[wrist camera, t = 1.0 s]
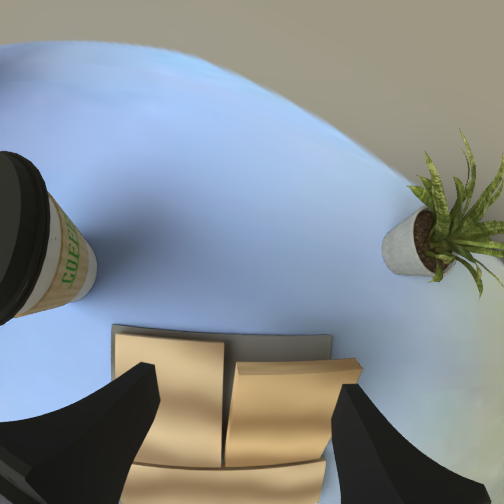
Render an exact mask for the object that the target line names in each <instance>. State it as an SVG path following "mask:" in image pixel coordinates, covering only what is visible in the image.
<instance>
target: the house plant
mask: <svg viewBox="0 0 504 504" xmlns="http://www.w3.org/2000/svg"><path fill="white" fill-rule="evenodd" d="M460 132H461V131H460ZM461 134H462V132H461ZM462 137H463V140H464V142H465V145H466V148H467V150H468V154H469V158H470V163H471V172H472V179H471V181H470V182H469V184H468V185H467V184H466V185H467V187H465V189H464V186H463V184H462V182H461V181H460V180H459V179H458V178H456V177H455V176H454V181H455V184H456V189H457V200H456V202H455V205H454V206H453V208H452V210H451V212H450V213H449V210H448V205H447V201H446V197H445V194H444V190H443V186H442V183H441V180H440V177H439V175H438V172H437V170H436V168H435V166H434V164H433V163H432V161H431V159H430V158H429V156H428V155H427V153H426V152H425V154H426V162H427V165H428V167H429V171H430V174H431V181H430V180H429V179H427V178H424V177H421V176H419V177H420V178H421V180H422V182H423V184H424V186H425V187H426V189H427V190H426V189H424V188H422V187H419V186H407V187H409V188H410V189H411V190H412V192H413V193H414V194H415V195H416V196H417V197H418V199H420V200H421V201H422V202H423V203H424V204H425V205H426V206H423V207H421V208H420V209H418V210H417V211H416V212H414V213H413V214H412V215H411V216H409V217H408V218H407V219H405V220H404V221H403V222H402V223H400V224H399V225H398V226H396V227H395V228H394V229H392V230H391V231H390V232H388V233H387V235H386V236H385V237H384V240H383V243H382V255H383V259H384V261H385V263H386V265H387V267H388V268H389V269H390V270H391V271H392V272H393V273H395V274H398V275H411V276H429V277H433V279H432V280H431V281H430V282H432V281H434V282H440V281H441V280H442V279H443V276H445V275H447V274H448V273H449V272H450V271H451V270H452V269H453V267H454V265H455V263H456V260H458V261H459V262H461V263H462V264H463V265H465V266H466V267H467V268H468V270H469V271H470V273H471V274H472V276H473V278H474V280H475V282H476V284H477V286H478V289H479V292H480V297H481V294H482V291H483V285H482V280H481V276H482V273H481V270H480V268H479V267H478V265H477V264H476V262H477V263H479V264H480V265H482V266H483V267H484V268H485V269H486V270H487V271H488V272H489V273H490V274H492V275H493V276H494V277H495V278H496V279H497V280H498V281H499V282H500V280H499V279H498V278H497V277H496V276H495V275H494V274H493V273H492V272H490V271H489V270H488V269H487V268H486V267H485V266H484V265H483V264H481V263H480V262H479V261H478V260H476V259H474V258H473V257H472V255H471V254H470V252H473V253H480V254H486V255H491V256H495V257H499V258H504V251H501V250H495V249H490V248H500V249H504V243H501V242H493V241H491V239H490V236H492V235H496V234H504V222H502V221H496V220H493V221H486V222H482V223H478V222H479V221H480V220H481V219H482V217H483V216H484V215H485V213H486V211H487V209H488V207H489V206H490V205H491V204H492V203H493V202H494V201H495V200H496V199H497V198H498V197H499V196H500V194H501V191H502V188H503V181H502V184H501V186H500V188H499V190H498V191H497V192H496V194H495V195H494V196H493V197H492V198H491V195H492V193H493V192H494V191H495V189H496V188H497V187H498V185H499V183H500V182H501V180H502V176H503V171H504V156H502V163H501V166H500V169H499V171H498V173H497V175H496V177H495V178H494V180H493V181H492V182H491V184H490V185H489V186H488V187H487V188H486V190H485V191H484V192H483V193H482V195H481V196H480V198H479V199H478V201H477V202H476V203H475V204H474V206H473V207H472V208H471V209H470V210H469V211H468V213H467V214H466V215H465V216H464V217H463V215H464V213H465V212H466V210H467V208H468V205H469V202H470V199H471V197H472V193H473V189H474V186H475V178H476V166H475V162H474V159H473V155H472V153H471V150H470V148H469V146H468V143H467V141H466V139H465V137H464V135H463V134H462ZM462 150H463V149H462ZM463 152H464V151H463ZM464 155H465V153H464ZM465 157H466V155H465ZM466 160H467V157H466ZM467 164H468V170H469V163H468V160H467ZM469 171H470V170H469ZM469 171H468V179H469ZM467 181H468V180H467ZM467 197H468V198H467ZM466 198H467V202H466V206H465V208H464V211H463V213H462V204H463V201H464V200H465V199H466ZM461 214H462V215H461ZM462 217H463V218H462ZM461 218H462V219H461ZM485 247H489V248H485ZM457 254H459V255H461V256H463V257H465V258H466V259H468V260H469V261H471V262H473V263H475V264H476V266H477V272H476V271H475V269H474V268H473V267H472V266H471V265H470V264H469V263H468V262H466V261H465V260H463V259H461V258H459V257H457ZM475 261H476V262H475ZM428 283H429V282H428ZM500 283H501V282H500ZM501 285H502V283H501ZM502 286H503V285H502ZM503 287H504V286H503ZM480 297H479V299H480Z"/></svg>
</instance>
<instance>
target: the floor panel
mask: <svg viewBox="0 0 504 504" xmlns="http://www.w3.org/2000/svg"><path fill="white" fill-rule="evenodd" d="M331 340H332V335H239V334H216V333H198V332H184V331H171V330H160V329H149V328H140V327H131V326H122V325H114V324H112V330H111V382H112V381H113V380H115V379H116V378H118V377H119V376H121V375H122V374H123V373H125V372H126V371H128V370H129V369H131V368H132V367H134V366H135V365H136V364H138V363H140V362H145V363H150V364H155V369H156V375H157V382H158V387H159V393H160V399H161V402H160V405H159V408H158V411H157V414H156V416H155V419H154V422H153V424H152V426H151V428H150V430H149V432H148V434H147V436H146V438H145V440H144V441H143V443H142V445H141V447H140V449H139V451H138V453H137V455H136V457H135V459H134V461H133V463H132V465H131V468H130V470H129V473H128V476H127V479H126V482H125V485H124V488H123V491H122V494H121V498H120V499H121V503H122V504H315V503H319V499H320V494H321V489H322V484H323V478H324V472H325V466H326V460H325V459H324V458H323V457H322V456H320V458H319V459H314V460H307V461H300V462H292V463H284V464H274V465H262V466H245V467H225V459H224V452H225V444H226V437H227V429H228V421H229V414H230V406H231V398H232V391H233V383H234V376H235V368H236V362H294V361H318V360H330V357H331Z"/></svg>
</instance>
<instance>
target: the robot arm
mask: <svg viewBox="0 0 504 504" xmlns="http://www.w3.org/2000/svg"><path fill="white" fill-rule="evenodd" d="M160 402H161V399H160V393H159V387H158V382H157V375H156V369H155V364H150V363H145V362H140V363H138V364H136V365H135V366H134V367H132V368H131V369H129V370H128V371H126V372H125V373H123V374H122V375H121V376H119V377H118V378H116V379H115V380H113V381H112V382H110V383H109V384H107V385H106V386H104V387H102V388H101V389H99V390H97V391H96V392H94V393H92V394H90V395H89V396H87V397H85V398H83V399H81V400H79V401H77V402H75V403H73V404H71V405H69V406H66V407H64V408H62V409H59V410H56V411H53V412H50V413H47V414H44V415H41V416H37V417H33V418H29V419H23V420H18V421H10V422H0V504H122V503H121V499H120V498H121V494H122V491H123V488H124V485H125V482H126V479H127V476H128V473H129V470H130V468H131V465H132V463H133V461H134V459H135V457H136V455H137V453H138V451H139V449H140V447H141V445H142V443H143V441H144V440H145V438H146V436H147V434H148V432H149V430H150V428H151V426H152V424H153V422H154V419H155V416H156V414H157V411H158V408H159V405H160ZM331 432H332V444H333V449H334V455H335V460H336V466H337V472H338V477H339V483H340V491H341V504H491V500H490V497H489V495H488V492H487V490H486V488H485V486H484V484H481V483H478V482H475V481H473V480H470V479H467V478H465V477H462V476H460V475H458V474H456V473H454V472H452V471H450V470H448V469H447V468H445V467H443V466H441V465H440V464H438V463H437V462H435V461H433V460H432V459H430V458H429V457H427V456H426V455H425V454H423V453H422V452H421V451H419V450H418V449H417V448H416V447H415V446H413V445H412V444H411V443H410V442H409V441H407V440H406V439H405V438H404V437H403V436H402V435H401V434H400V433H399V432H398V431H397V430H396V429H395V428H394V427H393V426H392V425H391V424H390V423H389V421H388V420H387V419H386V418H385V417H384V416H383V414H382V413H381V412H380V411H379V410H378V409H377V407H376V406H375V405H374V404H373V402H372V401H371V400H370V399H369V397H368V396H367V395H366V394H365V392H364V391H363V390H362V388H361V387H360V386H359V385H358V384H342V387H341V390H340V393H339V396H338V399H337V403H336V406H335V408H334V411H333V414H332V417H331Z"/></svg>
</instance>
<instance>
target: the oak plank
mask: <svg viewBox="0 0 504 504" xmlns="http://www.w3.org/2000/svg"><path fill="white" fill-rule="evenodd" d="M362 369H363V368H362V367H361V366H360V364H359V363H358V361H357V360H356V359H355V358H347V359H334V360H318V361H294V362H236V368H235V376H234V383H233V391H232V398H231V406H230V414H229V421H228V429H227V437H226V444H225V452H224V459H225V467H245V466H262V465H274V464H284V463H292V462H300V461H307V460H314V459H319V458H320V456H321V455H322V453H323V451H324V449H325V447H326V446H327V444H328V442H329V440H330V438H331V436H332V432H331V417H332V414H333V411H334V408H335V406H336V403H337V399H338V396H339V393H340V390H341V387H342V384H357V381H358V379H359V377H360V374H361V372H362Z"/></svg>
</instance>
